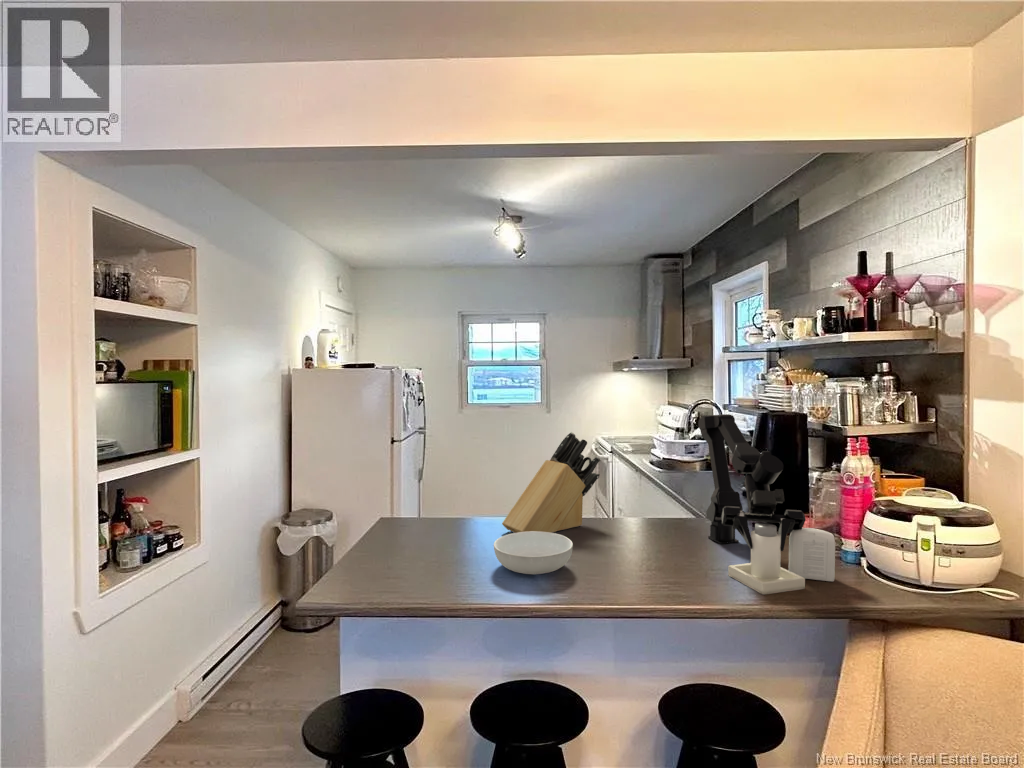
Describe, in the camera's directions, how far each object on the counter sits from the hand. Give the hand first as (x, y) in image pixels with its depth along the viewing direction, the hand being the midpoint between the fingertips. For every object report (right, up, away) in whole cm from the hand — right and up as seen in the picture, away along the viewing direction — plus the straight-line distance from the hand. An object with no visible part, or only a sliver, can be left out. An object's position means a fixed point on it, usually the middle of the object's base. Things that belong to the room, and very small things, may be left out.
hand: (766, 549), depth 128 cm
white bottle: (0, -7, +2) cm, 7 cm away
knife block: (-48, -8, +48) cm, 68 cm away
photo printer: (+13, -9, +4) cm, 16 cm away
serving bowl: (-56, -9, +11) cm, 58 cm away
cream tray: (0, -8, +1) cm, 9 cm away
